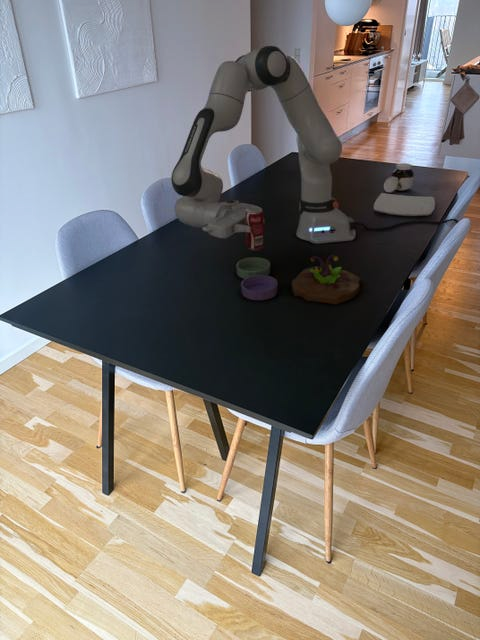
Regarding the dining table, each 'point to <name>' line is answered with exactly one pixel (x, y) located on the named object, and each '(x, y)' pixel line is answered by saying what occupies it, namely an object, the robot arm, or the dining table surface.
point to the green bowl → (252, 267)
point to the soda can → (255, 228)
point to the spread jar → (400, 179)
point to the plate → (404, 205)
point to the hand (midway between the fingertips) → (257, 225)
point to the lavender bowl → (259, 287)
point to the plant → (326, 283)
